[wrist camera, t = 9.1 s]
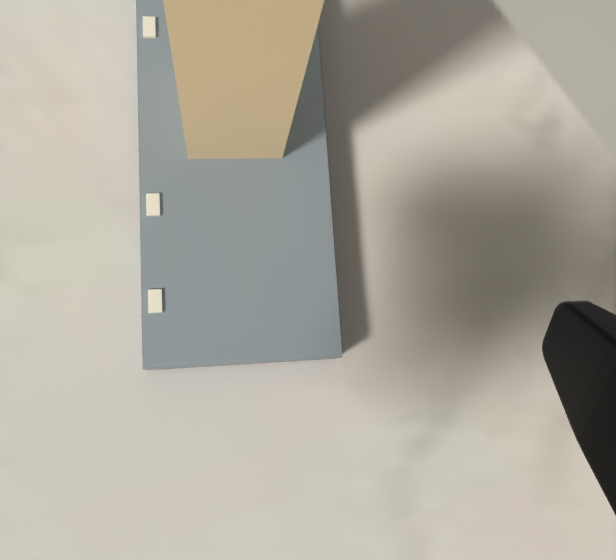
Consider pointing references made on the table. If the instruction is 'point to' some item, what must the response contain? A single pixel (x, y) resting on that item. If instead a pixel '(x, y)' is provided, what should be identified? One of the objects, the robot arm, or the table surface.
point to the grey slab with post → (234, 185)
